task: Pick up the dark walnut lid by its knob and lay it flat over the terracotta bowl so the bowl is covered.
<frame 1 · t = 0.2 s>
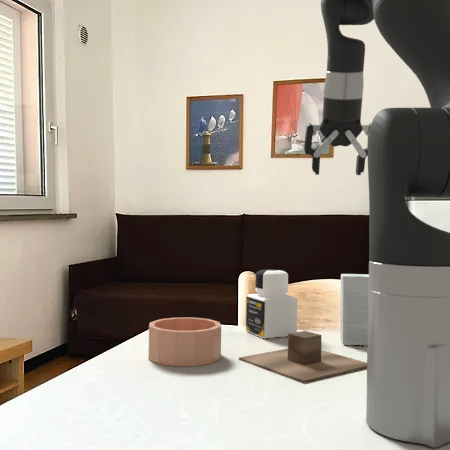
hand: (337, 174, 112), 31 cm above the table, tool tilted 20°, fingers open, 8 cm apart
medicine bottle: (270, 335, 100), on the table
skincare box: (358, 344, 93), on the table
terracotta bowl: (184, 356, 83), on the table
walnut lid: (304, 367, 80), on the table
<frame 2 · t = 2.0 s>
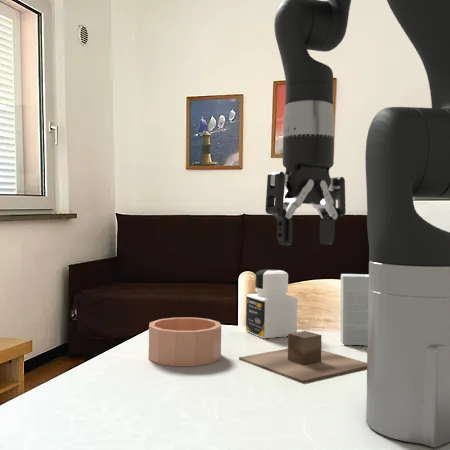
hand: (306, 244, 80), 18 cm above the table, tool pointing down, fingers open, 8 cm apart
nothing on the table moved.
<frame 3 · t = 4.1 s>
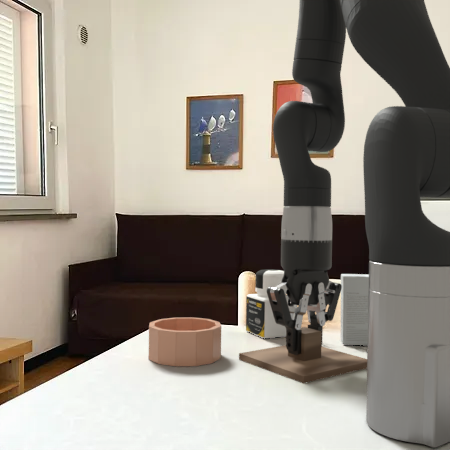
hand: (304, 351, 80), 2 cm above the table, tool pointing down, fingers closed on walnut lid, 3 cm apart
walnut lid: (304, 363, 80), on the table, touching gripper
everything else where it was.
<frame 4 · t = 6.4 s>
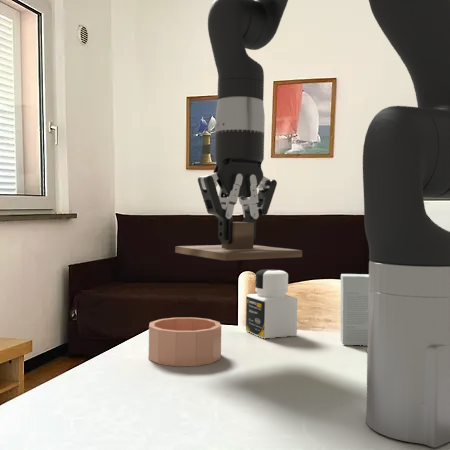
hand: (237, 242, 82), 18 cm above the table, tool pointing down, fingers closed on walnut lid, 3 cm apart
walnut lid: (237, 254, 82), point 16 cm above the table, touching gripper
everything else where it was.
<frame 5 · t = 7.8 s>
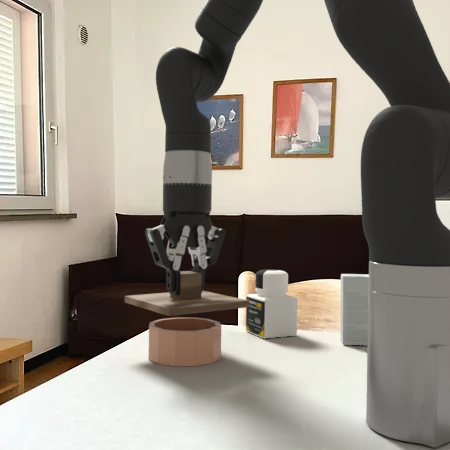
hand: (185, 292, 83), 10 cm above the table, tool pointing down, fingers closed on walnut lid, 3 cm apart
walnut lid: (185, 304, 83), point 8 cm above the table, touching gripper
everything else where it was.
when the fingers open (7 cm above the table, at t = 9.0 s): walnut lid stays where it is, resting on terracotta bowl.
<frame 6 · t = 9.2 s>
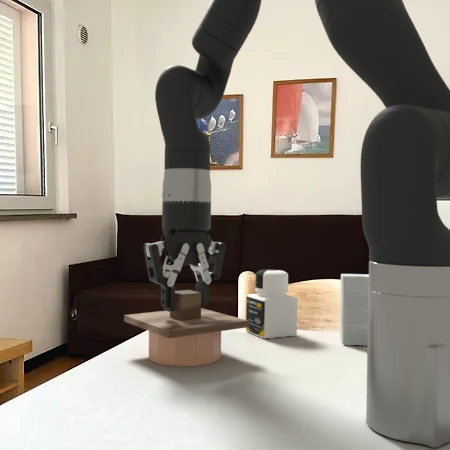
hand: (185, 308, 83), 7 cm above the table, tool pointing down, fingers open, 5 cm apart
walnut lid: (185, 324, 83), point 5 cm above the table, touching terracotta bowl
everything else where it was.
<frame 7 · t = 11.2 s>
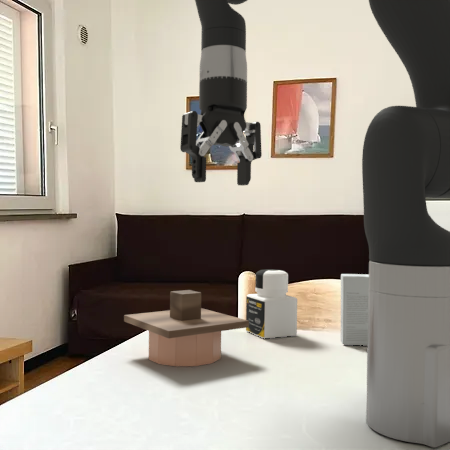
hand: (222, 183, 84), 27 cm above the table, tool pointing down, fingers open, 8 cm apart
nothing on the table moved.
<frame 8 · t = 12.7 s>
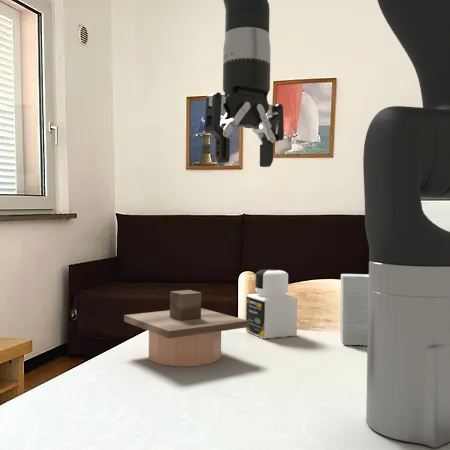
hand: (245, 164, 85), 30 cm above the table, tool pointing down, fingers open, 8 cm apart
nothing on the table moved.
at the end: walnut lid 0.0 cm from the terracotta bowl (horizontally); walnut lid point 5.0 cm above the table; walnut lid tilted 0° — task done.
